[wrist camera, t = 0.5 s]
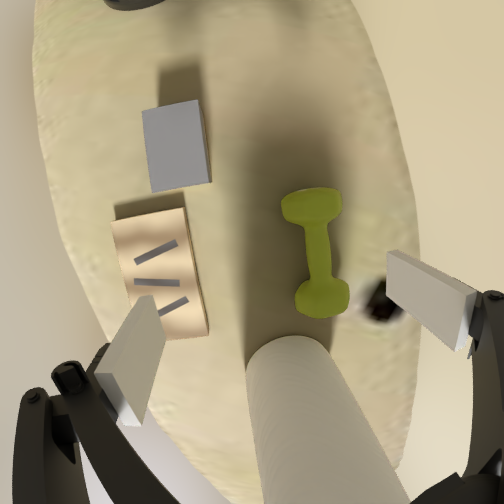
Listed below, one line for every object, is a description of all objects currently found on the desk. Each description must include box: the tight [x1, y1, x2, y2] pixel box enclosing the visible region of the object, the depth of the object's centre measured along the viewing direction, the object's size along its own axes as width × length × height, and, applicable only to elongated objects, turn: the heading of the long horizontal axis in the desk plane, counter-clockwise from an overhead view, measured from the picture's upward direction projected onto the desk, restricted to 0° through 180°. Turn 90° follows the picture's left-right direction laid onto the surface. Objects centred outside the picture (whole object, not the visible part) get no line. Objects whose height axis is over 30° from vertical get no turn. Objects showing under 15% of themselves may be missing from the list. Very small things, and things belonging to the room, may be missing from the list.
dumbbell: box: [281, 187, 350, 319], centre depth 35 cm, size 16×8×7 cm, turn 9°
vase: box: [246, 336, 411, 504], centre depth 28 cm, size 14×14×32 cm
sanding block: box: [142, 99, 212, 193], centre depth 30 cm, size 9×6×8 cm, turn 8°
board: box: [110, 206, 209, 341], centre depth 37 cm, size 18×10×2 cm, turn 8°
